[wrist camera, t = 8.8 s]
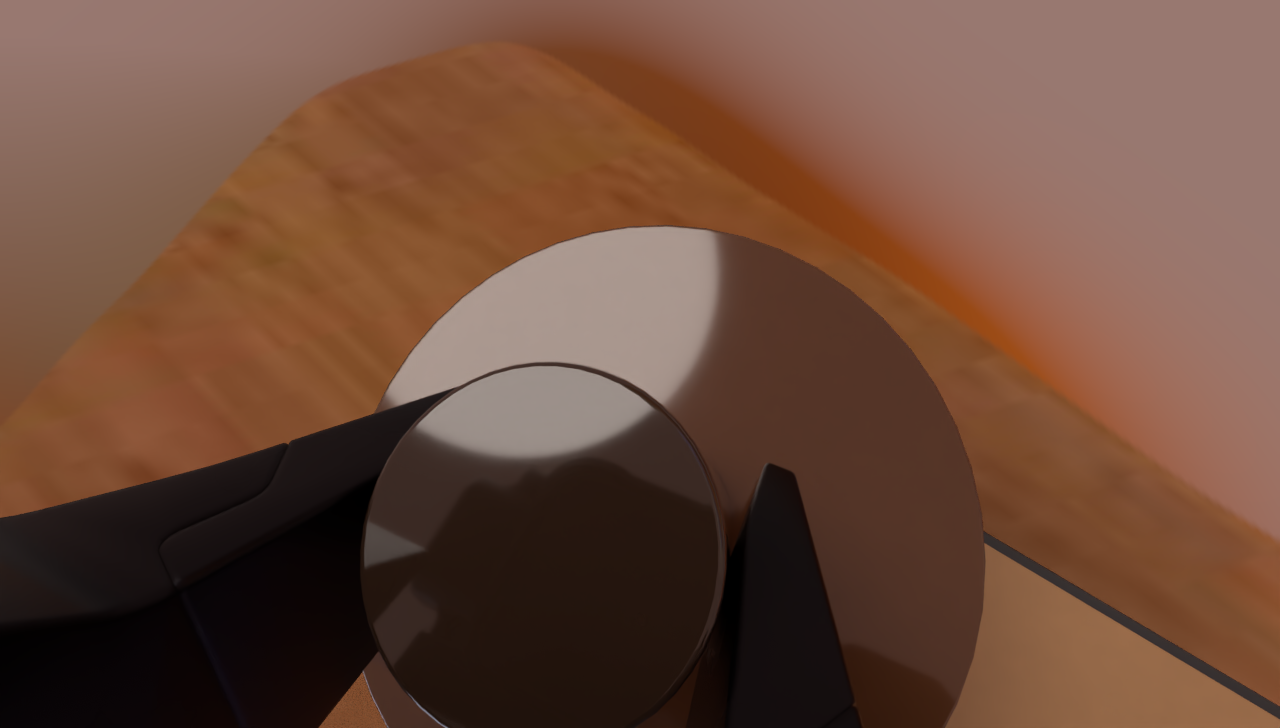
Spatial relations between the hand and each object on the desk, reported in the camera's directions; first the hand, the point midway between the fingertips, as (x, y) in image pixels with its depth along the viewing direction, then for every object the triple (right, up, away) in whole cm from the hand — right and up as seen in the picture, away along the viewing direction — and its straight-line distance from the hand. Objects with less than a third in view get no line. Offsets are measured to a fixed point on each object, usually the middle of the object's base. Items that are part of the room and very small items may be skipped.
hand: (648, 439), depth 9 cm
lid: (0, -2, +3) cm, 3 cm away
